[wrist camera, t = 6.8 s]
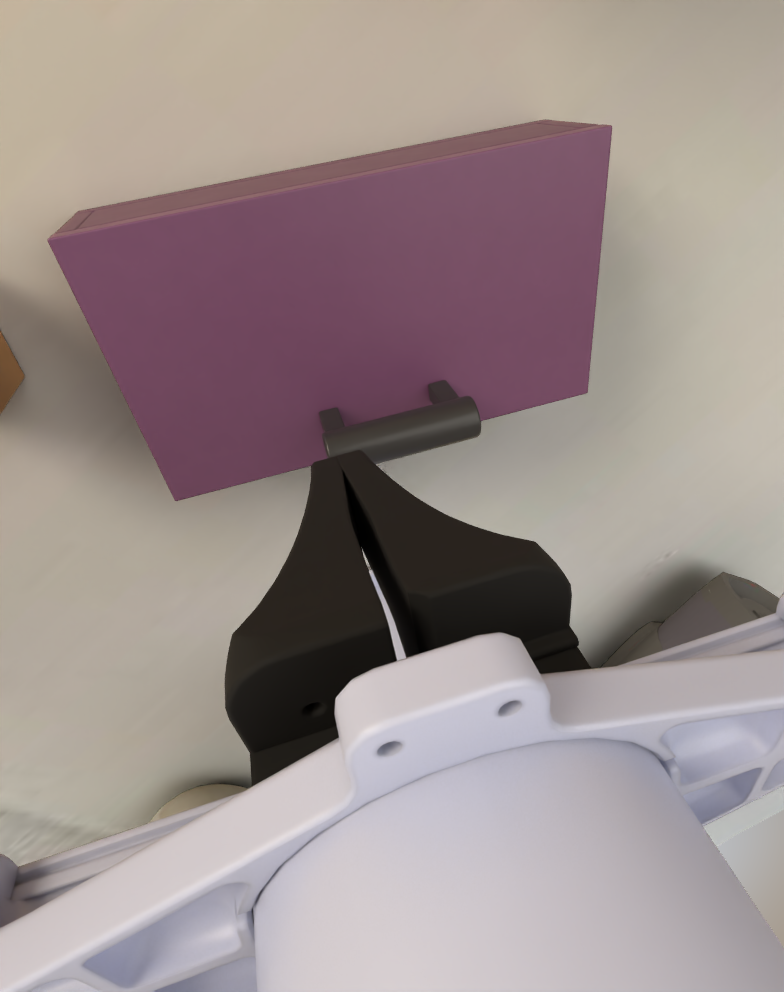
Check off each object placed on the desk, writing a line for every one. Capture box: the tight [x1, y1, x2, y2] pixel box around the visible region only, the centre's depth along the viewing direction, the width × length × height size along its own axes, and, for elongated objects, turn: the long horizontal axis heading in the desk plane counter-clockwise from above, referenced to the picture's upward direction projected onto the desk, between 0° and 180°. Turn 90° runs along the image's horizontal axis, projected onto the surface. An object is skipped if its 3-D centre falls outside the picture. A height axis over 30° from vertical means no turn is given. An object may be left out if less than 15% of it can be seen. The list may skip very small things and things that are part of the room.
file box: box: [54, 120, 598, 234], centre depth 20 cm, size 8×16×4 cm, turn 98°
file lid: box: [48, 125, 612, 501], centre depth 17 cm, size 9×16×4 cm, turn 98°
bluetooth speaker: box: [601, 572, 779, 668], centre depth 39 cm, size 23×9×10 cm, turn 152°
